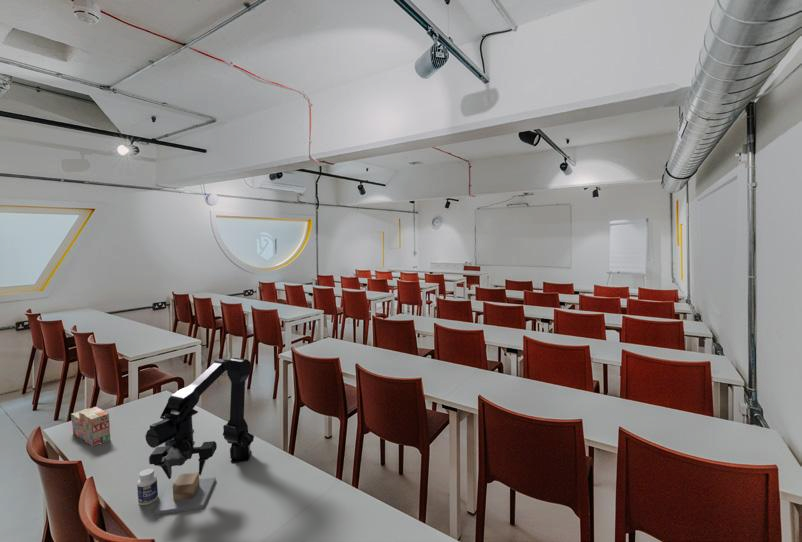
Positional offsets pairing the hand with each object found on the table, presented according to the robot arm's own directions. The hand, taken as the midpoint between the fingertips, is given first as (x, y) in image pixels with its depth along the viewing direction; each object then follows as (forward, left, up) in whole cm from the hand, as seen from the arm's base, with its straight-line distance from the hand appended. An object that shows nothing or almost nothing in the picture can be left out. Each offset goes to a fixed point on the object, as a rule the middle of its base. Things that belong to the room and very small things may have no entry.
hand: (185, 476), depth 123 cm
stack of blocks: (+55, -51, -8) cm, 75 cm away
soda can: (+18, -39, -7) cm, 44 cm away
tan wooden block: (0, 0, -6) cm, 6 cm away
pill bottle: (+12, -1, -7) cm, 14 cm away
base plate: (0, 0, -7) cm, 7 cm away
